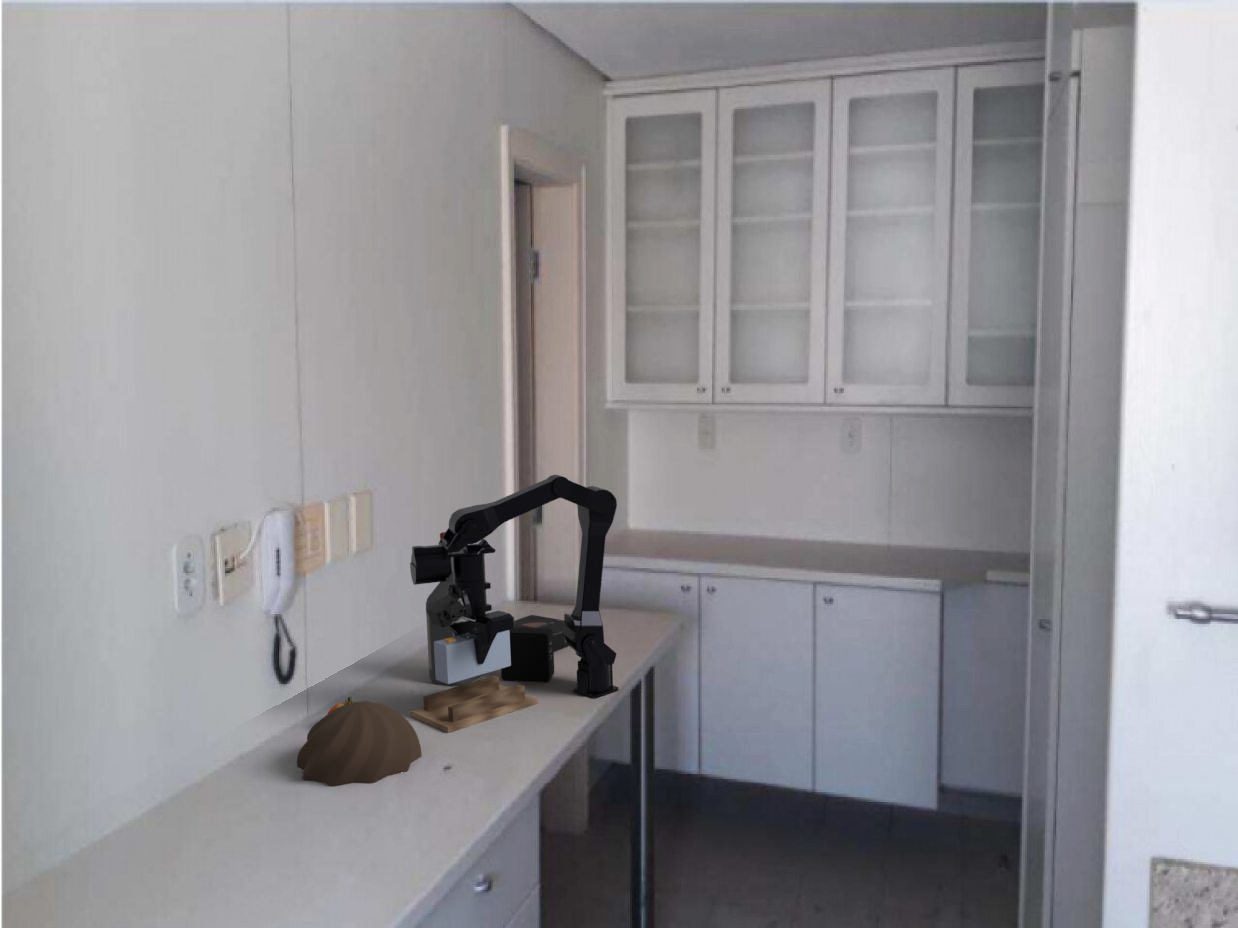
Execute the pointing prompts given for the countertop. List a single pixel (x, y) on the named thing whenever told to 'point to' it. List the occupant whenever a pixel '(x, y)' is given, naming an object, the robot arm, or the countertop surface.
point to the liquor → (440, 628)
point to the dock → (471, 704)
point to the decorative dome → (358, 745)
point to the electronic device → (530, 655)
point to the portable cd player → (545, 622)
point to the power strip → (469, 657)
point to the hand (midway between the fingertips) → (473, 661)
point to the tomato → (341, 704)
